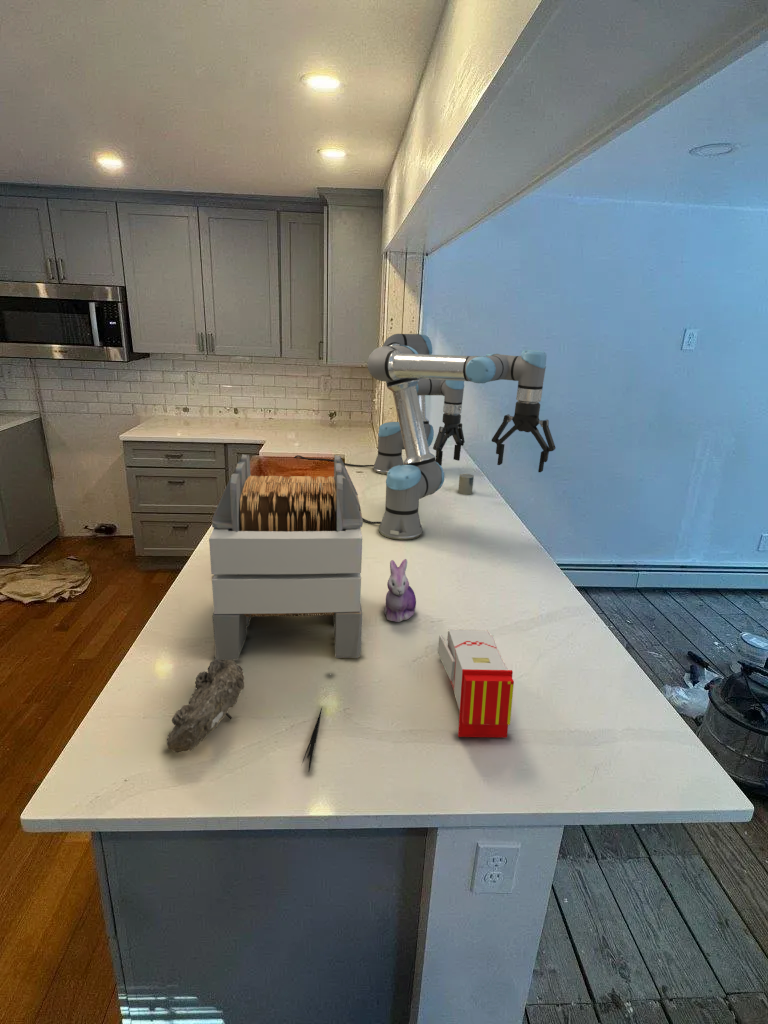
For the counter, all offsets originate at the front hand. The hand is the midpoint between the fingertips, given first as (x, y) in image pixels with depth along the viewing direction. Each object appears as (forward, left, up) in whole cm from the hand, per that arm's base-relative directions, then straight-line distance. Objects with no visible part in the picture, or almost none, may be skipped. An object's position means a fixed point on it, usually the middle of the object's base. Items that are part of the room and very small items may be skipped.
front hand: (519, 467), depth 184 cm
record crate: (-2, -85, -28) cm, 90 cm away
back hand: (-55, +26, -15) cm, 63 cm away
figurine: (+11, -61, -28) cm, 68 cm away
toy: (+44, -70, -28) cm, 87 cm away
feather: (+32, -100, -28) cm, 108 cm away
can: (-50, +33, -28) cm, 66 cm away
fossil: (+18, -116, -28) cm, 120 cm away
